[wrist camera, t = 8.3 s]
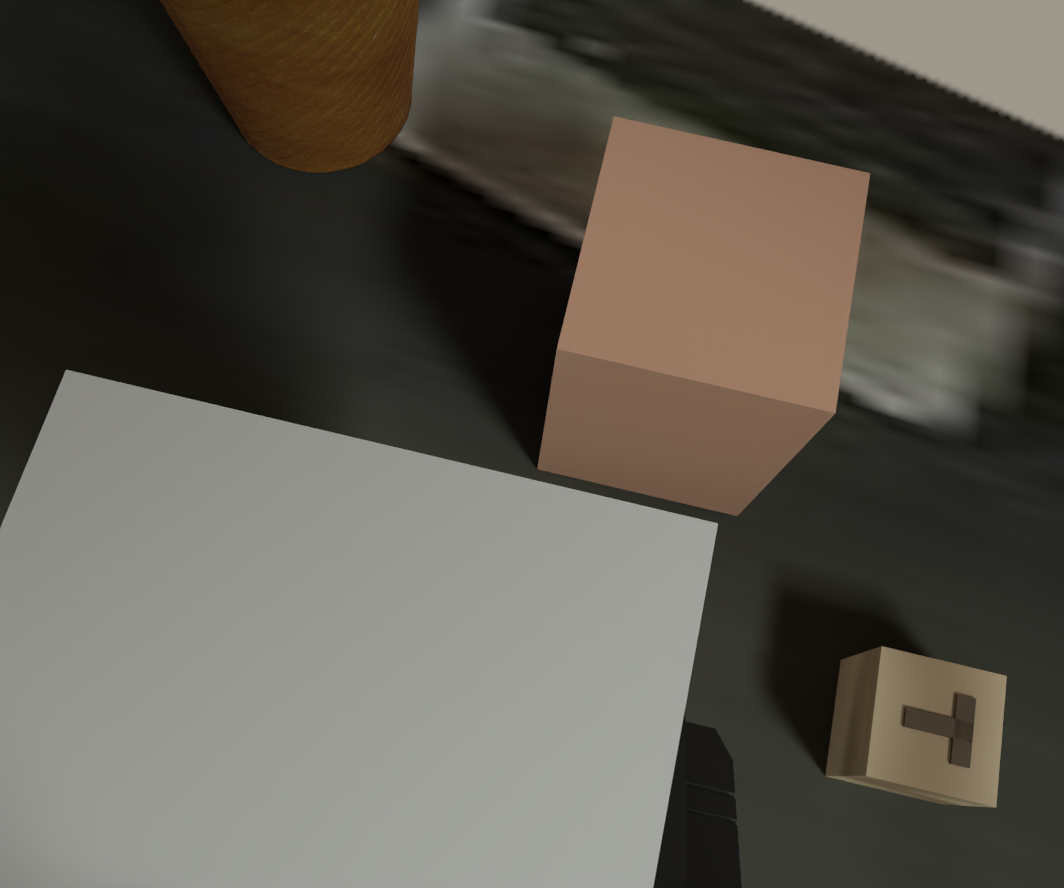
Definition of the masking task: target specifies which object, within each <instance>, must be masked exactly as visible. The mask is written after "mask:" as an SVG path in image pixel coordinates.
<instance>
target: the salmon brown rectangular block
mask: <svg viewBox="0 0 1064 888" xmlns="http://www.w3.org/2000/svg"><path fill="white" fill-rule="evenodd" d="M869 179H870V173H866V172H862V171H857V170H853V169H848V168H844V167H839V166H835V165H830V164H826V163H822V162H817V161H813V160H808V159H804V158H799V157H795V156H790V155H786V154H781V153H777V152H772V151H768V150H763V149H759V148H754V147H750V146H745V145H741V144H736V143H732V142H727V141H723V140H719V139H714V138H710V137H705V136H701V135H696V134H692V133H687V132H683V131H678V130H674V129H669V128H665V127H660V126H656V125H651V124H647V123H642V122H638V121H633V120H629V119H624V118H620V117H615V116H614V118H613V122H612V126H611V130H610V134H609V138H608V142H607V146H606V150H605V154H604V159H603V163H602V167H601V171H600V175H599V179H598V183H597V187H596V191H595V195H594V199H593V203H592V207H591V212H590V216H589V220H588V224H587V228H586V232H585V236H584V240H583V244H582V248H581V252H580V256H579V260H578V265H577V269H576V273H575V277H574V281H573V285H572V289H571V293H570V297H569V301H568V305H567V309H566V313H565V317H564V322H563V326H562V330H561V334H560V338H559V342H558V346H557V351H556V357H555V363H554V369H553V375H552V382H551V388H550V394H549V400H548V406H547V412H546V419H545V425H544V431H543V437H542V443H541V449H540V456H539V462H538V468H537V469H539V470H543V471H548V472H552V473H556V474H560V475H565V476H569V477H573V478H577V479H582V480H586V481H590V482H594V483H599V484H603V485H607V486H611V487H616V488H620V489H624V490H628V491H633V492H637V493H641V494H645V495H650V496H654V497H658V498H662V499H667V500H671V501H675V502H679V503H684V504H688V505H692V506H696V507H701V508H705V509H709V510H713V511H718V512H722V513H726V514H730V515H735V516H738V515H739V514H740V513H741V512H742V510H743V509H744V508H745V507H746V506H747V505H748V504H749V503H750V502H751V501H752V500H753V499H754V498H755V497H756V496H757V495H758V494H759V493H760V492H761V491H762V489H763V488H764V487H765V486H766V485H767V484H768V483H769V482H770V481H771V480H772V479H773V478H774V477H775V476H776V475H777V474H778V473H779V472H780V471H781V470H782V469H783V467H784V466H785V465H786V464H787V463H788V462H789V461H790V460H791V459H792V458H793V457H794V456H795V455H796V454H797V453H798V452H799V451H800V450H801V449H802V448H803V447H804V445H805V444H806V443H807V442H808V441H809V440H810V439H811V438H812V437H813V436H814V435H815V434H816V433H817V432H818V431H819V430H820V429H821V428H822V427H823V426H824V425H825V423H826V422H827V421H828V420H829V419H830V418H831V417H832V416H833V415H834V414H835V412H836V405H837V399H838V392H839V385H840V378H841V371H842V364H843V357H844V350H845V344H846V337H847V330H848V323H849V316H850V309H851V302H852V295H853V289H854V282H855V275H856V268H857V261H858V254H859V247H860V240H861V234H862V227H863V220H864V213H865V206H866V199H867V192H868V185H869Z"/></svg>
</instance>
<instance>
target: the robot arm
mask: <svg viewBox="0 0 1064 888" xmlns="http://www.w3.org/2000/svg"><path fill="white" fill-rule="evenodd" d="M734 794H735V787H734V772H733V760H732V758H731V756H730V755H729V753H728V751H727V749H726V747H725V745H724V744H723V742H722V740H721V738H720V736H719V734H718V733H717V731H716V729H714V728H710V727H706V726H702V725H698V724H693V723H689V722H685V712H684V717H683V723H682V729H681V734H680V740H679V745H678V751H677V757H676V762H675V768H674V774H673V779H672V785H671V790H670V796H669V802H668V807H667V813H666V819H665V824H664V830H663V835H662V841H661V847H660V852H659V858H658V864H657V869H656V875H655V880H654V886H653V888H741V874H740V860H739V845H738V830H737V825H736V819H737V816H736V801H735V798H734Z"/></svg>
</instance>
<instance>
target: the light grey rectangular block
mask: <svg viewBox="0 0 1064 888" xmlns="http://www.w3.org/2000/svg"><path fill="white" fill-rule="evenodd" d="M717 526H718V523H713V522H709V521H705V520H701V519H696V518H692V517H688V516H684V515H680V514H675V513H671V512H667V511H663V510H658V509H654V508H650V507H646V506H641V505H637V504H633V503H629V502H624V501H620V500H616V499H612V498H608V497H603V496H599V495H595V494H591V493H586V492H582V491H578V490H574V489H569V488H565V487H561V486H557V485H553V484H548V483H544V482H540V481H536V480H531V479H527V478H523V477H519V476H514V475H510V474H506V473H502V472H497V471H493V470H489V469H485V468H481V467H476V466H472V465H468V464H464V463H459V462H455V461H451V460H447V459H442V458H438V457H434V456H430V455H426V454H421V453H417V452H413V451H409V450H404V449H400V448H396V447H392V446H387V445H383V444H379V443H375V442H371V441H366V440H362V439H358V438H354V437H349V436H345V435H341V434H337V433H332V432H328V431H324V430H320V429H315V428H311V427H307V426H303V425H299V424H294V423H290V422H286V421H282V420H277V419H273V418H269V417H265V416H260V415H256V414H252V413H248V412H244V411H239V410H235V409H231V408H227V407H222V406H218V405H214V404H210V403H205V402H201V401H197V400H193V399H188V398H184V397H180V396H176V395H172V394H167V393H163V392H159V391H155V390H150V389H146V388H142V387H138V386H133V385H129V384H125V383H121V382H117V381H112V380H108V379H104V378H100V377H95V376H91V375H87V374H83V373H78V372H74V371H70V370H66V371H65V373H64V376H63V378H62V381H61V383H60V385H59V388H58V390H57V393H56V395H55V397H54V400H53V402H52V405H51V407H50V410H49V412H48V414H47V417H46V419H45V422H44V424H43V426H42V429H41V431H40V434H39V436H38V438H37V441H36V443H35V446H34V448H33V450H32V453H31V455H30V458H29V460H28V463H27V465H26V467H25V470H24V472H23V475H22V477H21V479H20V482H19V484H18V487H17V489H16V491H15V494H14V496H13V499H12V501H11V504H10V506H9V508H8V511H7V513H6V516H5V518H4V520H3V523H2V525H1V528H0V888H653V886H654V880H655V875H656V869H657V864H658V858H659V852H660V847H661V841H662V835H663V830H664V824H665V819H666V813H667V807H668V802H669V796H670V790H671V785H672V779H673V774H674V768H675V762H676V757H677V751H678V745H679V740H680V734H681V729H682V723H683V717H684V712H685V706H686V700H687V695H688V689H689V684H690V678H691V672H692V667H693V661H694V655H695V650H696V644H697V639H698V633H699V627H700V622H701V616H702V610H703V605H704V599H705V594H706V588H707V582H708V577H709V571H710V566H711V560H712V554H713V549H714V543H715V537H716V532H717Z"/></svg>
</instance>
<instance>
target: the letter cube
mask: <svg viewBox="0 0 1064 888" xmlns="http://www.w3.org/2000/svg"><path fill="white" fill-rule="evenodd" d="M1006 679H1007V676H1004V675H1000V674H996V673H992V672H988V671H983V670H979V669H975V668H971V667H967V666H962V665H958V664H954V663H950V662H946V661H941V660H937V659H933V658H929V657H925V656H921V655H916V654H912V653H908V652H904V651H900V650H895V649H891V648H887V647H883V646H881V647H878V648H875V649H872V650H869V651H866V652H863V653H860V654H857V655H854V656H851V657H848V658H845V659H842V660H841V662H840V669H839V677H838V684H837V692H836V700H835V707H834V715H833V722H832V730H831V737H830V745H829V752H828V760H827V767H826V775H825V776H827V777H831V778H835V779H839V780H844V781H848V782H852V783H856V784H860V785H864V786H868V787H872V788H876V789H881V790H885V791H889V792H893V793H897V794H901V795H905V796H909V797H914V798H918V799H922V800H926V801H930V802H934V803H938V804H945V805H962V806H979V807H996V803H997V791H998V778H999V766H1000V753H1001V741H1002V729H1003V716H1004V704H1005V691H1006Z"/></svg>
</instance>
